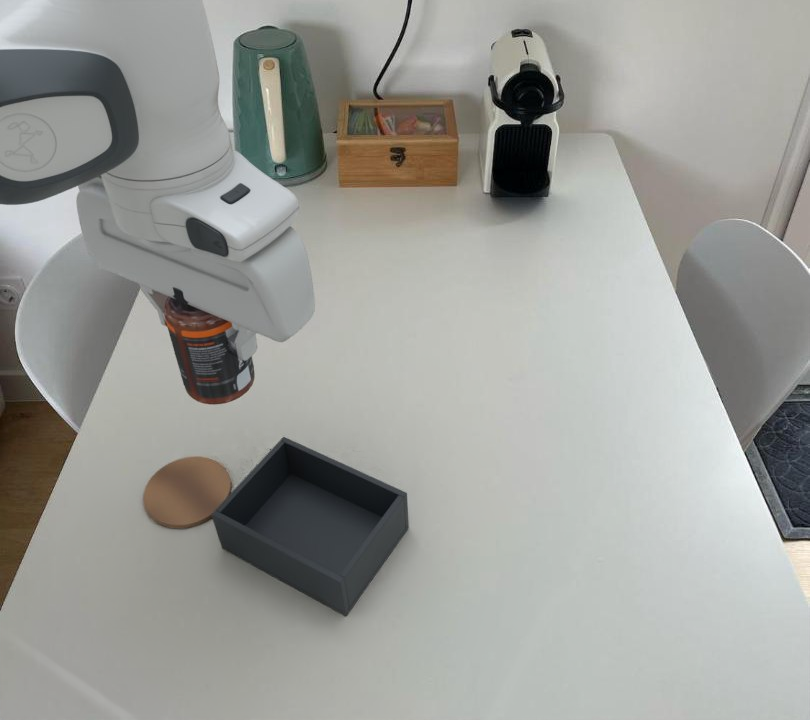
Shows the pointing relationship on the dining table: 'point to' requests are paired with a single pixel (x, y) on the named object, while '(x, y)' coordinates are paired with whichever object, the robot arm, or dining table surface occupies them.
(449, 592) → the dining table surface
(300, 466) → the bin
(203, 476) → the coaster
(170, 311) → the supplement bottle
